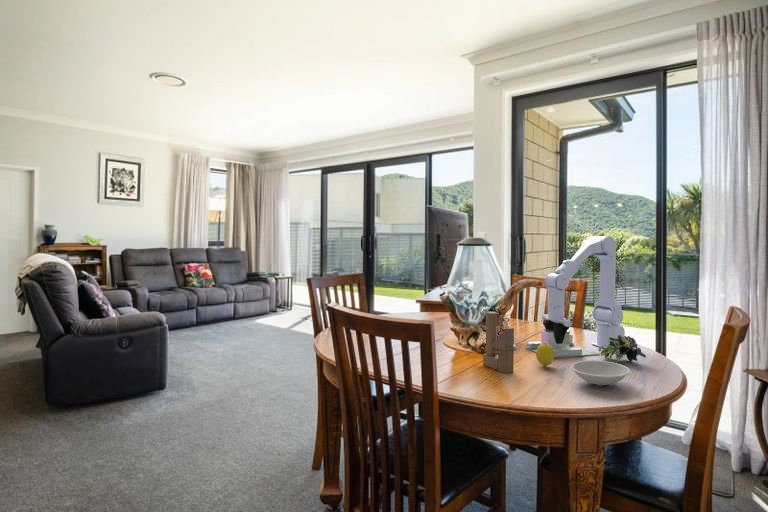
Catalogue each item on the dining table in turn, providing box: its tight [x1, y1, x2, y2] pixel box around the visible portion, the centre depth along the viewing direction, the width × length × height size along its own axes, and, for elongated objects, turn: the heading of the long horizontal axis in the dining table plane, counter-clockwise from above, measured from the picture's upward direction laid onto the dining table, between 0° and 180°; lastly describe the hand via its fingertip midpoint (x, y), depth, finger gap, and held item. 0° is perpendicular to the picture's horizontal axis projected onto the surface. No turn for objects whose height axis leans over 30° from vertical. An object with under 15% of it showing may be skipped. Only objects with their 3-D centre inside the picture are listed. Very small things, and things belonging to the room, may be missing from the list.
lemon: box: [535, 343, 555, 368], centre depth 136 cm, size 6×6×8 cm
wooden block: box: [482, 311, 515, 374], centre depth 135 cm, size 4×11×18 cm, turn 26°
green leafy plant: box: [598, 335, 647, 363], centre depth 141 cm, size 11×11×12 cm
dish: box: [570, 360, 631, 387], centre depth 119 cm, size 18×14×5 cm
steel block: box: [540, 329, 571, 349], centre depth 153 cm, size 9×4×6 cm, turn 103°
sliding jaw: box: [526, 333, 575, 349], centre depth 160 cm, size 20×2×4 cm, turn 103°
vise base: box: [524, 344, 601, 359], centre depth 155 cm, size 21×15×2 cm
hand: (555, 342), depth 153 cm, fingers closed on steel block, 4 cm apart
